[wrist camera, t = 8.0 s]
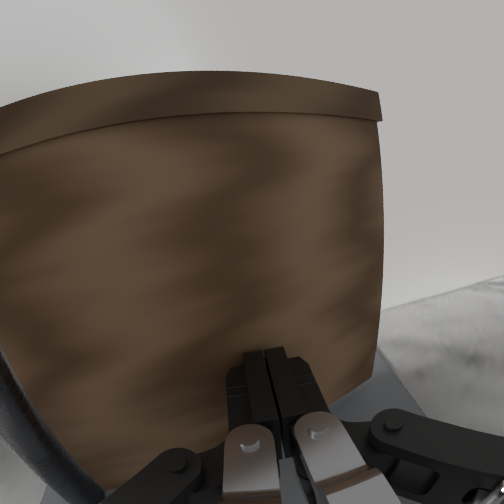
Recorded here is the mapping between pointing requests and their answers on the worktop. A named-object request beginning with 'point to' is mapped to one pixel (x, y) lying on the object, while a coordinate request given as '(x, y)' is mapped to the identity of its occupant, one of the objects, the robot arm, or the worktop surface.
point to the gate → (184, 251)
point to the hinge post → (41, 443)
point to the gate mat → (347, 409)
